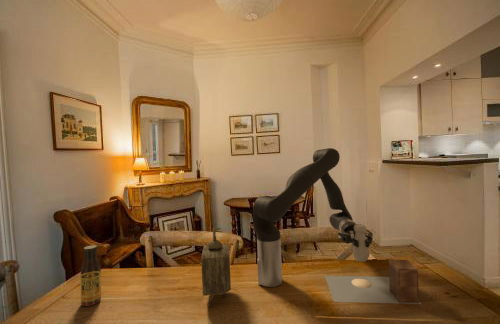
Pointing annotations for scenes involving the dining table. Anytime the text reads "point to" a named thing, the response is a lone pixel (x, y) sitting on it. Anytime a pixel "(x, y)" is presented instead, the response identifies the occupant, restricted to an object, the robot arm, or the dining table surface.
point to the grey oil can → (215, 269)
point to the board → (361, 289)
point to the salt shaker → (360, 244)
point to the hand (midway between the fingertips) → (362, 244)
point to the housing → (403, 281)
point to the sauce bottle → (90, 277)
